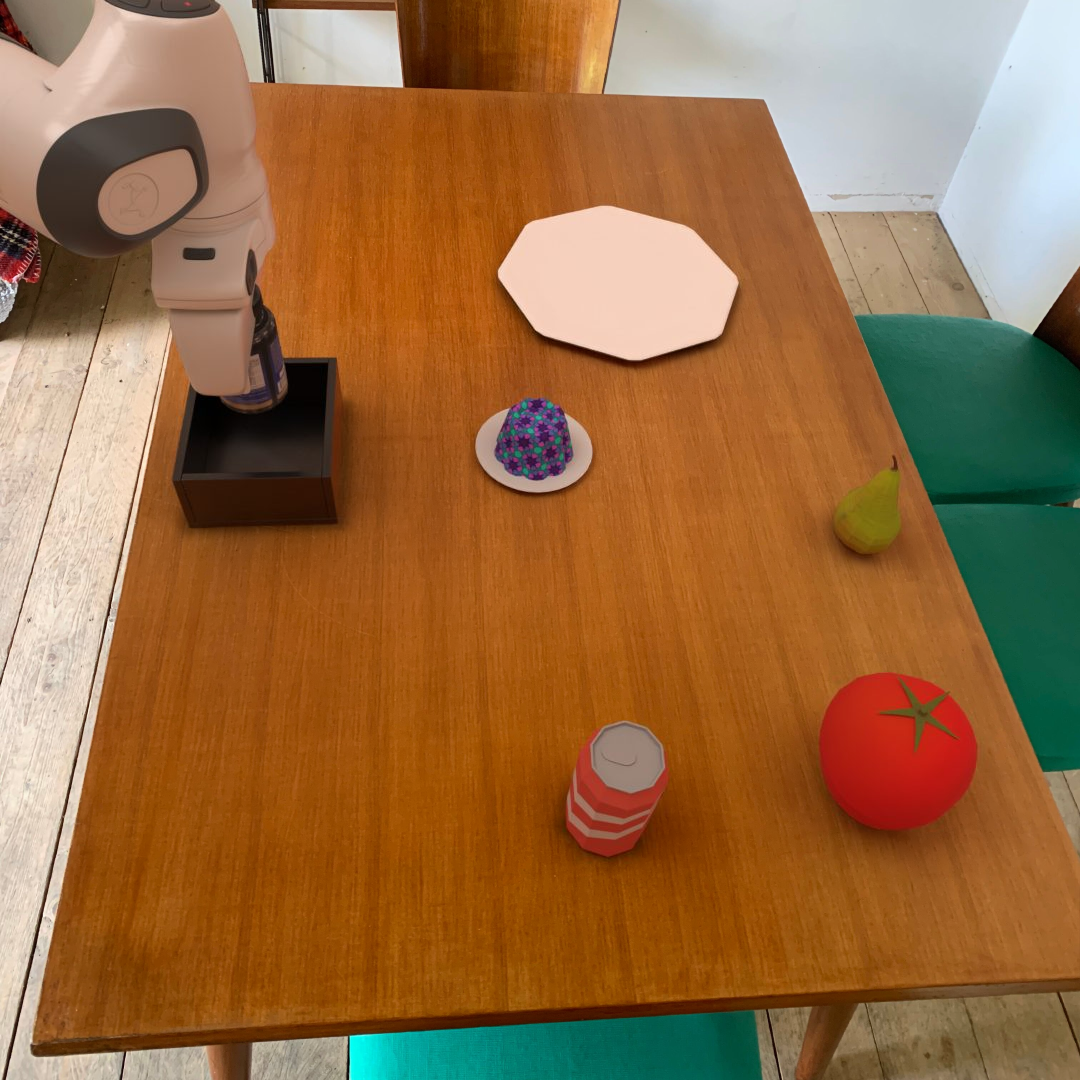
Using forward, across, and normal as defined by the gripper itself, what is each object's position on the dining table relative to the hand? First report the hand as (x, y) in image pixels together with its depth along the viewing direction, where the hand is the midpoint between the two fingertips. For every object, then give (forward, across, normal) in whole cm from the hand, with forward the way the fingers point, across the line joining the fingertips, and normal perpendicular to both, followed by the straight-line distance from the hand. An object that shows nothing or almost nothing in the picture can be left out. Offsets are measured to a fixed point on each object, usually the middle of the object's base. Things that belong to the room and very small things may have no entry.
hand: (245, 358), depth 80 cm
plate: (+14, -28, +39) cm, 50 cm away
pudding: (+14, -1, +26) cm, 30 cm away
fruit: (+14, +11, +57) cm, 60 cm away
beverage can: (+14, +38, +29) cm, 49 cm away
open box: (+14, 0, 0) cm, 14 cm away
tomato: (+14, +36, +50) cm, 63 cm away
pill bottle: (+4, 0, 0) cm, 4 cm away
